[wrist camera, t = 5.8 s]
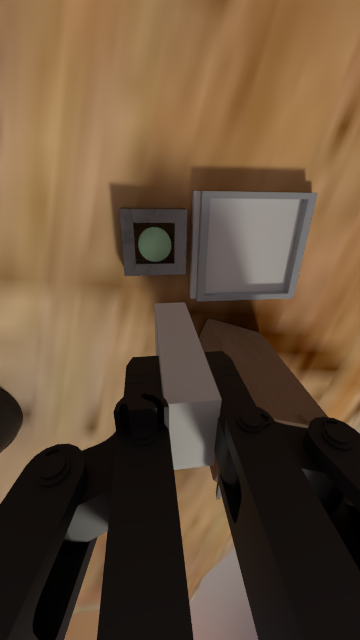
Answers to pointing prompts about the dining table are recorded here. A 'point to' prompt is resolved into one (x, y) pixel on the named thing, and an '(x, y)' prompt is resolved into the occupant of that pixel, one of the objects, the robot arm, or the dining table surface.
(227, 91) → the dining table surface
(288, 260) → the shallow gray tray
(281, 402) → the wooden block
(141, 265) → the button housing
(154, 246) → the button
